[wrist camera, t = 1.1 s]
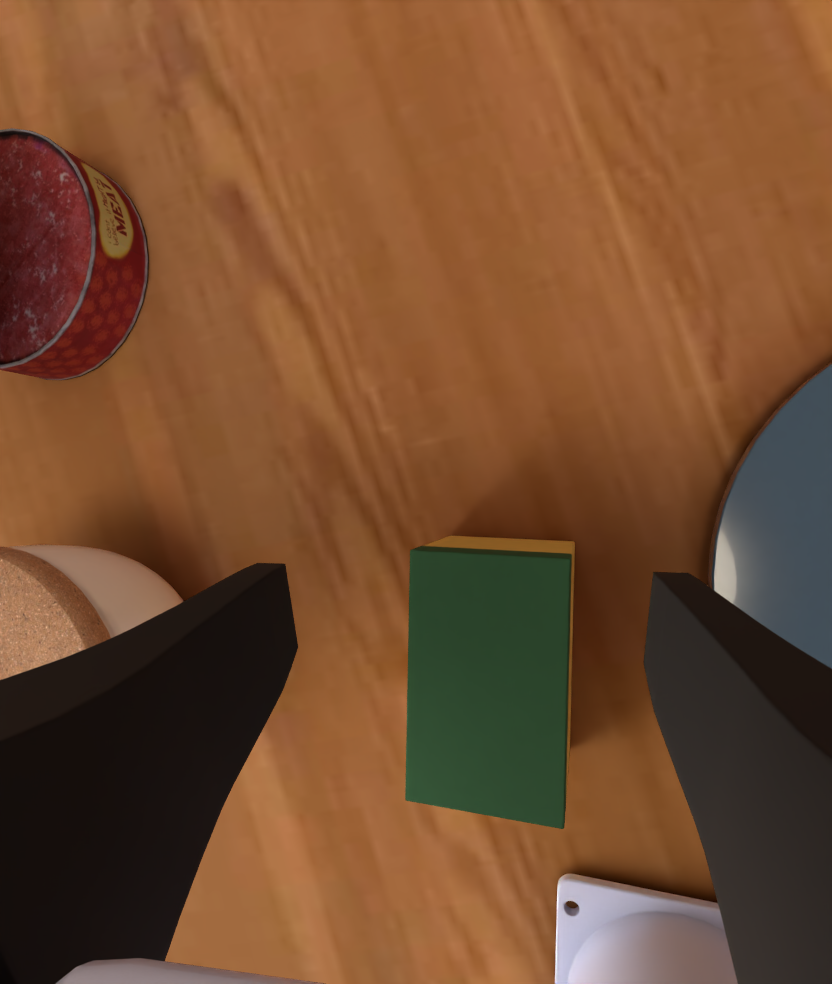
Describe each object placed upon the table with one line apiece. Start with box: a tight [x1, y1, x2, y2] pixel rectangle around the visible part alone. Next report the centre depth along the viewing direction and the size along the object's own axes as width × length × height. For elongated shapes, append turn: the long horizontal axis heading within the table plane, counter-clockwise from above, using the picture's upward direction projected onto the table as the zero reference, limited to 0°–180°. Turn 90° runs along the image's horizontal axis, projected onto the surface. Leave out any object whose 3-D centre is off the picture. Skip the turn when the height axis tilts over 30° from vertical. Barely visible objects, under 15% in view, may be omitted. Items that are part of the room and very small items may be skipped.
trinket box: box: [0, 545, 184, 680], centre depth 22 cm, size 11×11×9 cm
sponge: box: [405, 536, 575, 829], centre depth 19 cm, size 8×5×5 cm, turn 179°
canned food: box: [0, 129, 148, 380], centre depth 24 cm, size 11×10×10 cm
